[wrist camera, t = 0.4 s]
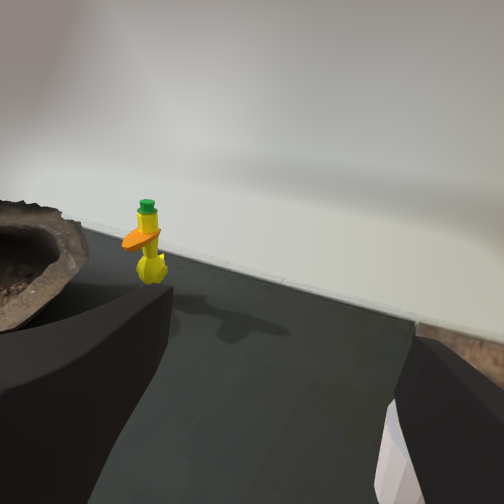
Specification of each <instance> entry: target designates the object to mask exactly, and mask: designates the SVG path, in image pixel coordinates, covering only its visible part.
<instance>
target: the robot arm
mask: <svg viewBox="0 0 504 504" xmlns="http://www.w3.org/2000/svg"><path fill="white" fill-rule="evenodd" d="M173 290H174V287H173V286H168V285H164V284H159V283H151V284H149V285H146V286H144V287H142V288H140V289H137V290H135V291H133V292H131V293H129V294H127V295H124V296H122V297H120V298H118V299H115V300H113V301H111V302H109V303H106V304H104V305H101V306H99V307H96V308H94V309H91V310H89V311H86V312H84V313H81V314H78V315H76V316H73V317H70V318H67V319H64V320H60V321H57V322H53V323H50V324H46V325H43V326H39V327H35V328H30V329H26V330H21V331H16V332H12V333H7V334H2V335H0V504H87V503H88V500H89V498H90V496H91V494H92V491H93V489H94V487H95V484H96V482H97V480H98V478H99V476H100V473H101V471H102V469H103V467H104V465H105V463H106V460H107V458H108V456H109V454H110V452H111V449H112V447H113V446H114V444H115V442H116V440H117V438H118V436H119V434H120V433H121V431H122V429H123V427H124V426H125V424H126V422H127V421H128V419H129V417H130V416H131V414H132V412H133V410H134V409H135V407H136V405H137V404H138V402H139V400H140V399H141V397H142V395H143V394H144V392H145V390H146V388H147V387H148V385H149V383H150V381H151V380H152V378H153V376H154V374H155V373H156V371H157V368H158V366H159V364H160V361H161V359H162V356H163V354H164V351H165V349H166V347H167V343H168V334H169V325H170V316H171V308H172V299H173ZM394 397H395V403H396V409H397V415H398V420H399V425H400V428H401V431H402V434H403V437H404V440H405V444H406V447H407V450H408V453H409V456H410V459H411V462H412V465H413V468H414V471H415V474H416V477H417V480H418V483H419V486H420V489H421V492H422V495H423V498H424V501H425V504H504V390H502V389H501V388H500V387H498V386H497V385H496V384H495V383H493V382H492V381H491V380H489V379H488V378H487V377H485V376H484V375H483V374H482V373H480V372H479V371H478V370H476V369H475V368H474V367H473V366H471V365H470V364H469V363H467V362H466V361H465V360H464V359H462V358H461V357H460V356H458V355H457V354H456V353H454V352H453V351H452V350H450V349H449V348H448V347H446V346H445V345H443V344H442V343H440V342H438V341H437V340H434V339H429V338H424V337H419V336H414V339H413V342H412V344H411V347H410V350H409V352H408V355H407V358H406V360H405V363H404V366H403V368H402V371H401V374H400V376H399V379H398V382H397V384H396V387H395V390H394Z"/></svg>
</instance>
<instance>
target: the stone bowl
mask: <svg viewBox="0 0 504 504" xmlns="http://www.w3.org/2000/svg"><path fill="white" fill-rule="evenodd" d="M61 213H62V212H59V210H58V209H55V208H51V207H41V206H39V205H38V204H37V203H32V204H26V203H25V202H24V200H23V201H19V202H10V201H2V200H0V335H2V334H7V333H12V332H15V331H17V330H18V329H20V328H21V327H23V326H24V325H26V324H27V323H29V322H30V321H31V320H32V319H34V318H35V317H36V316H37V315H38V314H39V313H41V312H42V311H43V310H44V308H45V307H46V306H47V305H48V304H49V302H50V301H51V300H52V299H53V298H54V297H55V296H56V295H57V294H58V293H60V291H61V290H62V289H63V287H64V285H65V284H67V283H68V281H70V280H71V279H72V278H73V277H74V276H75V274H76V273H78V272H80V271H79V269H80V268H81V267H82V266H83V265H84V264H85V263H86V262H87V261H88V260H89V246H88V244H87V241H86V239H85V238H84V233H83V228H82V226H81V222H79V221H78V223H77V222H76V221H75V222H74V221H73V220H65V219H63V218H62V217H61Z"/></svg>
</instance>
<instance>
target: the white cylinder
mask: <svg viewBox="0 0 504 504" xmlns="http://www.w3.org/2000/svg"><path fill="white" fill-rule="evenodd" d="M374 488H375V491H376V495H377V499H378V502H379V504H425V501H424V498H423V495H422V492H421V489H420V486H419V483H418V480H417V477H416V474H415V471H414V468H413V465H412V462H411V459H410V456H409V453H408V450H407V447H406V444H405V440H404V437H403V434H402V431H401V428H400V425H399V420H398V415H397V409H396V403H395V399H394V400H393V402H392V403H391V404H390V405H389V406H388V410H387V415H386V421H385V426H384V432H383V437H382V443H381V448H380V454H379V459H378V464H377V470H376V476H375V483H374Z"/></svg>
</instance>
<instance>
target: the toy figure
mask: <svg viewBox="0 0 504 504" xmlns="http://www.w3.org/2000/svg"><path fill="white" fill-rule="evenodd" d="M154 203H155V201H153V200H148V199H144V200H141V201H140V207H141V208H139V209H137V212H138V214H137V219H138V228H137V229H135V230H133V231H132V232H131V233H130V234H128V235H127V236H126V237H125V238H124V240H123V243H122V247H123V248H124V250H125V251H129V252H133V253H134V252H136V251H138V250H139V249H141V248H142V250H143V254H144V256H143V258H142V259H141V260H139V263H138V266H137V270H136V272H138V273H139V278H140V279H141V280H142V281H143V282H144V283H145V284H146V285H149V284H151V283H159V284H160V282H161V281H162V280H163V278H164V277H165V275H166V274H167V266H165V262H164V253H163V254H161V255H160V256H158V255H157V250H158V236H159V234H160V231H161V229H159V228H158V218H157V209H155V208H154Z"/></svg>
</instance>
